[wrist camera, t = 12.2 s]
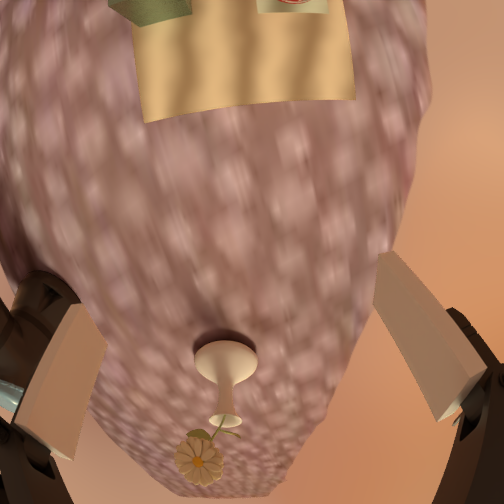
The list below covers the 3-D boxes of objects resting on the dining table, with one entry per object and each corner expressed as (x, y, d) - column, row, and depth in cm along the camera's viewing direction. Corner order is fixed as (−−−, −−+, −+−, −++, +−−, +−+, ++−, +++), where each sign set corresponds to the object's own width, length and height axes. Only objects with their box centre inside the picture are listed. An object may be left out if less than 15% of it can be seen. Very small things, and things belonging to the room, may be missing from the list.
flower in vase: (254, 331, 46) (266, 475, 24) (259, 370, 52) (270, 490, 30) (179, 337, 46) (158, 474, 24) (194, 374, 52) (185, 491, 30)
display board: (149, 122, 29) (140, 124, 26) (133, -20, 19) (125, -29, 16) (349, 99, 29) (359, 100, 26) (326, -40, 18) (334, -49, 16)
